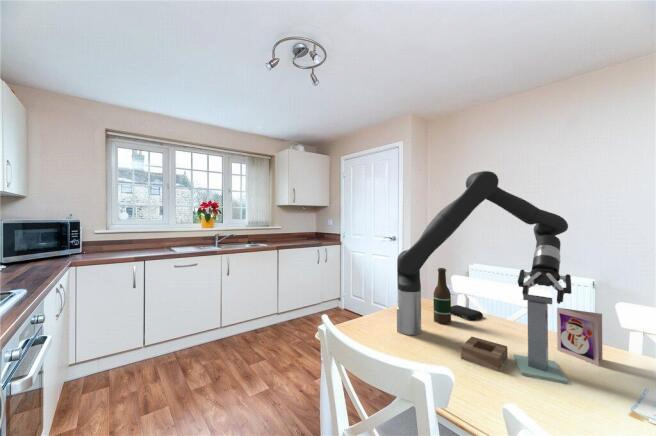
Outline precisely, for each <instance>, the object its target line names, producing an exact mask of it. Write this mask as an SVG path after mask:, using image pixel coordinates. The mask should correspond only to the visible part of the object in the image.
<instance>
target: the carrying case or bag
mask: <svg viewBox="0 0 656 436" xmlns="http://www.w3.org/2000/svg"><path fill="white" fill-rule="evenodd" d="M453 314H454V315H453ZM451 315H453V316H456V315H457V316H456V317H459V316H460V318H462V319H465V318H466V320H468V319H469V321H476V320H478V319H482V318H483V317H484V314H483V313H482V312H481V311H479V310H477V309H472V308H470V307H466V306H462V305H459V304H456V305H451Z"/></svg>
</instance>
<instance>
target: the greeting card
mask: <svg viewBox="0 0 656 436" xmlns="http://www.w3.org/2000/svg"><path fill="white" fill-rule="evenodd" d="M556 342H557V343H556V345H557V347H556V348H557V351H559V352H561V353H564V354H566V355H568V356H572V357H574V358H576V359H578V360H581V361H584V362H587V363H590V364H591V365H594V366H597V367H599V360H603V313H600V312H592V311H591V312H590V311H586V310H585V311H584V310H578V309H577V310H576V309H570V308H563V307H556Z"/></svg>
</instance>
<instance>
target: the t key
mask: <svg viewBox="0 0 656 436" xmlns="http://www.w3.org/2000/svg"><path fill="white" fill-rule="evenodd" d="M522 296H523V297H522V299H523V300H524V301H527V356H528V366H529V367H532V368H535V369H539V370H542V371H545V372H546V371H547V368H548V360H549V328H548V327H549V321H548V318H549V313H548V311H549V310H548V307H549V306H548V305H553V297H548V296H542V295H535V294H530V293H528V294H523V293H522Z"/></svg>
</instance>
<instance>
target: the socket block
mask: <svg viewBox="0 0 656 436" xmlns="http://www.w3.org/2000/svg"><path fill="white" fill-rule="evenodd" d="M508 355H509V354H508V346H507V345H505V344H500V343H497V342H494V341H489V340H486V339H482V338H478V337H475V336H470V338H468V339H467V340H466V341H465V342H464V343H463V344H462V345H461V346H460V359H461V360H464V361H467V362H469V363H473V364H475V365H478V366H482V367H484V368H487V369H490V370H494V371H496V372H500V371H501V369H502V367H503V366H504V364H505V363H506V361H507V360H508Z"/></svg>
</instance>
